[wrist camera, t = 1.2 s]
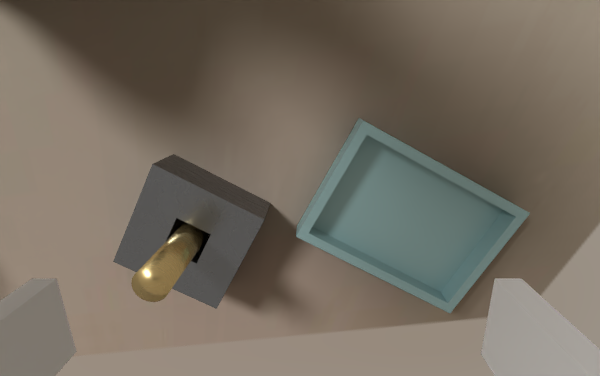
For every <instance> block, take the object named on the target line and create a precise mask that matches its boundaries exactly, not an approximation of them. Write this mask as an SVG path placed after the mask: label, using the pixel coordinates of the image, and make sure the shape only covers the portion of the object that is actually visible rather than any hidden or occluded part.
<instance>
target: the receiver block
mask: <svg viewBox="0 0 600 376" xmlns="http://www.w3.org/2000/svg"><path fill="white" fill-rule="evenodd" d="M269 205H270V203H269V202H267V201H265V200H263V199H261V198H259V197H257V196H255V195H253V194H251V193H249V192H247V191H245V190H243V189H241V188H239V187H237V186H236V185H234V184H232V183H230V182H228V181H226V180H224V179H222V178H220V177H218V176H216V175H214V174H212V173H210V172H208V171H206V170H204V169H202V168H200V167H198V166H196V165H194V164H192V163H190V162H188V161H186V160H184V159H182V158H180V157H178V156H176V155H174V154H173V155H171V156H169V157H167V158H164V159H162V160H160V161H158V162H156V163H154V164H152V167H151V169H150V172H149V174H148V177H147V179H146V182H145V184H144V187H143V189H142V192H141V194H140V197H139V199H138V202H137V204H136V207H135V209H134V212H133V214H132V217H131V219H130V222H129V224H128V226H127V229H126V231H125V234H124V236H123V239H122V241H121V244H120V246H119V249H118V251H117V254H116V256H115V259H114V261H113V262H115V263H117V264H120V265H122V266H124V267H126V268H128V269H131V270H133V271H135V272H137V271H138V270H139V269H140V268H141V267H142V266H143V265H144V264H145V263H146V262H147V261H148V260H149V259H150V258H151V257H152V256H153V255H154V254H155V253H156V252H157V250H158V249H159V248H160V247H161V246H162V245H163V244H164V243H165V242H166V241H167V240H168V239H169V238H170V237H171V236H172V235H173V234H174V233H175V232H176V231H177V230H178V228H179V227H180V226H181V225H182V224H183V223H184V222H186V223H188V224H190V225H192V226H194V227H196V228H198V229H200V230H203V231H205V232H207V233H209V234H211V235H210V237H209V239H208V241H207V240H205V242H204V243H203V244H202V246H201V247H200V249H199V250H198V252H197V253H196V254H195V256H194V257H193V259H192V260H191V262H190V263H189V264H188V266H187V267H186V269H185V270H184V272H183V273H182V274H181V276H180V277H179V279H178V280H177V282H176V283H175V284H174V286H173V287H172V289H174V290H177V291H179V292H181V293H183V294H185V295H187V296H190V297H192V298H194V299H196V300H198V301H201V302H203V303H205V304H207V305H209V306H212V307H214V308H216V309H217V307H218V305H219V303H220V301H221V300H222V298H223V296H224V294H225V292H226V290H227V288H228V287H229V285H230V283H231V281H232V279H233V277H234V275H235V274H236V272H237V270H238V268H239V266H240V264H241V262H242V260H243V259H244V257H245V255H246V253H247V251H248V249H249V247H250V246H251V244H252V242H253V240H254V238H255V236H256V234H257V233H258V231H259V229H260V227H261V225H262V223H263V221H264V220H265V217H266V214H267V211H268V208H269Z"/></svg>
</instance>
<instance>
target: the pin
mask: <svg viewBox="0 0 600 376" xmlns="http://www.w3.org/2000/svg"><path fill="white" fill-rule="evenodd" d="M208 236H209V233H207V232H205V231H203V230H200V229H198V228H196V227H194V226H192V225H190V224H188V223H186V222H184V223H183V224H182V225H181V226H180V227H179V228H178V230H177V231H176V232H175V233H174V234H173V235H172V236H171V237H170V238H169V239H168V240H167V241H166V242H165V243H164V244H163V245H162V246H161V247H160V248H159V249H158V250H157V252H156V253H155V254H154V255H153V256H152V257H151V258H150V259H149V260H148V261H147V262H146V263H145V264H144V265H143V266H142V267H141V268H140V269H139V270H138V271H137V272H136V274H135V275H134V276H133V278H132V288H133V290H134V292H135V293H136V295H137V296H139V297H140V298H141V299H143V300H146V301H149V302H157V301H160V300H162V299H164V298H165V297H166V296H167V294H168V293H169V292H170V290H171V289H172V287H173V286H174V284H175V283H176V282H177V280H178V279H179V277H180V276H181V274H182V273H183V272H184V270H185V269H186V267H187V266H188V264H189V263H190V262H191V260H192V259H193V257H194V256H195V254H196V253H197V252H198V250H199V249H200V247H201V246H202V244H203V243H204V242H205V240H206V239H207V237H208Z"/></svg>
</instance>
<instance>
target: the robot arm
mask: <svg viewBox="0 0 600 376" xmlns="http://www.w3.org/2000/svg"><path fill="white" fill-rule="evenodd" d="M75 353H76V348H75V344H74V341H73V337H72V333H71V330H70V326H69V322H68V319H67V315H66V311H65V307H64V304H63V300H62V296H61V293H60V289H59V285H58V282H57V279H31V280H29V281H28V282H26V283H25V284H24V285H22V286H21V287H19V288H18V289H16V290H15V291H13V292H12V293H11V294H9V295H8V296H6V297H5V298H3V299H2V300H0V376H55V375H56V374H57V373H58V372H59V371H60V370H61V369H62V368H63V366H64V365H65V364H66V363H67V362H68V361H69V360H70V358H71V357H72V356H73V355H74V354H75ZM481 355H482V357H483V358H484V360H485V361H486V363H487V364H488V366H489V367H490V369H491V371H492V372H493V374H494V375H495V376H600V349H599V348H598V347H597V346H596V345H595V344H594V343H593V342H592V341H590V340H589V339H588V338H587V337H586V336H585V335H584V334H583V333H582V332H580V331H579V330H578V329H577V328H576V327H575V326H574V325H573V324H572V323H570V322H569V321H568V320H567V319H566V318H565V317H564V316H563V315H561V314H560V313H559V312H558V311H557V310H556V309H555V308H554V307H552V306H551V305H550V304H549V303H548V302H547V301H546V300H545V299H544V298H543V297H541V296H540V295H539V294H538V293H537V292H536V291H535V290H534V289H533V288H531V287H530V286H529V285H528V284H527V283H526V282H525V281H524V280H523V279H521V278H495V280H494V285H493V291H492V296H491V302H490V307H489V313H488V318H487V324H486V329H485V335H484V340H483V346H482V351H481Z"/></svg>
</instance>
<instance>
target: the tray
mask: <svg viewBox="0 0 600 376" xmlns="http://www.w3.org/2000/svg"><path fill="white" fill-rule="evenodd" d="M529 214H530V213H529V212H527V211H525V210H524V209H522V208H520V207H518V206H516V205H515V204H513V203H511V202H509V201H507V200H506V199H504V198H502V197H500V196H498V195H497V194H495V193H493V192H491V191H489V190H488V189H486V188H484V187H482V186H480V185H479V184H477V183H475V182H473V181H472V180H470V179H468V178H466V177H464V176H463V175H461V174H459V173H457V172H455V171H454V170H452V169H450V168H448V167H446V166H445V165H443V164H441V163H439V162H437V161H436V160H434V159H432V158H430V157H428V156H427V155H425V154H423V153H421V152H419V151H418V150H416V149H414V148H412V147H410V146H409V145H407V144H405V143H403V142H401V141H400V140H398V139H396V138H394V137H392V136H391V135H389V134H387V133H385V132H383V131H382V130H380V129H378V128H376V127H374V126H373V125H371V124H369V123H367V122H365V121H364V120H362V119H360V118H359V119H358V120H357V122H356V124H355V126H354V127H353V129H352V131H351V133H350V134H349V136H348V138H347V140H346V141H345V143H344V145H343V147H342V148H341V150H340V152H339V154H338V155H337V157H336V159H335V161H334V162H333V164H332V166H331V167H330V169H329V171H328V173H327V174H326V176H325V178H324V180H323V181H322V183H321V185H320V187H319V188H318V190H317V192H316V194H315V195H314V197H313V199H312V201H311V202H310V204H309V206H308V208H307V209H306V211H305V213H304V214H303V216H302V218H301V220H300V221H299V223H298V225H297V232H296V237H298V238H300V239H302V240H304V241H306V242H308V243H310V244H312V245H314V246H316V247H318V248H320V249H322V250H324V251H326V252H328V253H330V254H332V255H334V256H336V257H338V258H340V259H342V260H344V261H346V262H348V263H350V264H352V265H354V266H356V267H358V268H360V269H362V270H364V271H366V272H368V273H370V274H372V275H374V276H376V277H378V278H380V279H382V280H384V281H386V282H388V283H390V284H392V285H394V286H396V287H398V288H400V289H402V290H404V291H406V292H408V293H410V294H412V295H414V296H416V297H418V298H420V299H422V300H424V301H426V302H428V303H430V304H432V305H434V306H436V307H438V308H440V309H442V310H444V311H446V312H448V313H451V312H452V310H453V309H454V308H455V307H456V305H457V304H458V303H459V302H460V300H461V299H462V298H463V297H464V295H465V294H466V293H467V292H468V290H469V289H470V288H471V287H472V285H473V284H474V283H475V282H476V280H477V279H478V278H479V277H480V275H481V274H482V273H483V272H484V270H485V269H486V268H487V267H488V265H489V264H490V263H491V262H492V260H493V259H494V258H495V257H496V255H497V254H498V253H499V252H500V250H501V249H502V248H503V247H504V245H505V244H506V243H507V242H508V240H509V239H510V238H511V237H512V235H513V234H514V233H515V232H516V230H517V229H518V228H519V227H520V225H521V224H522V223H523V222H524V220H525V219H526V218H527V217H528V215H529Z"/></svg>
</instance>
